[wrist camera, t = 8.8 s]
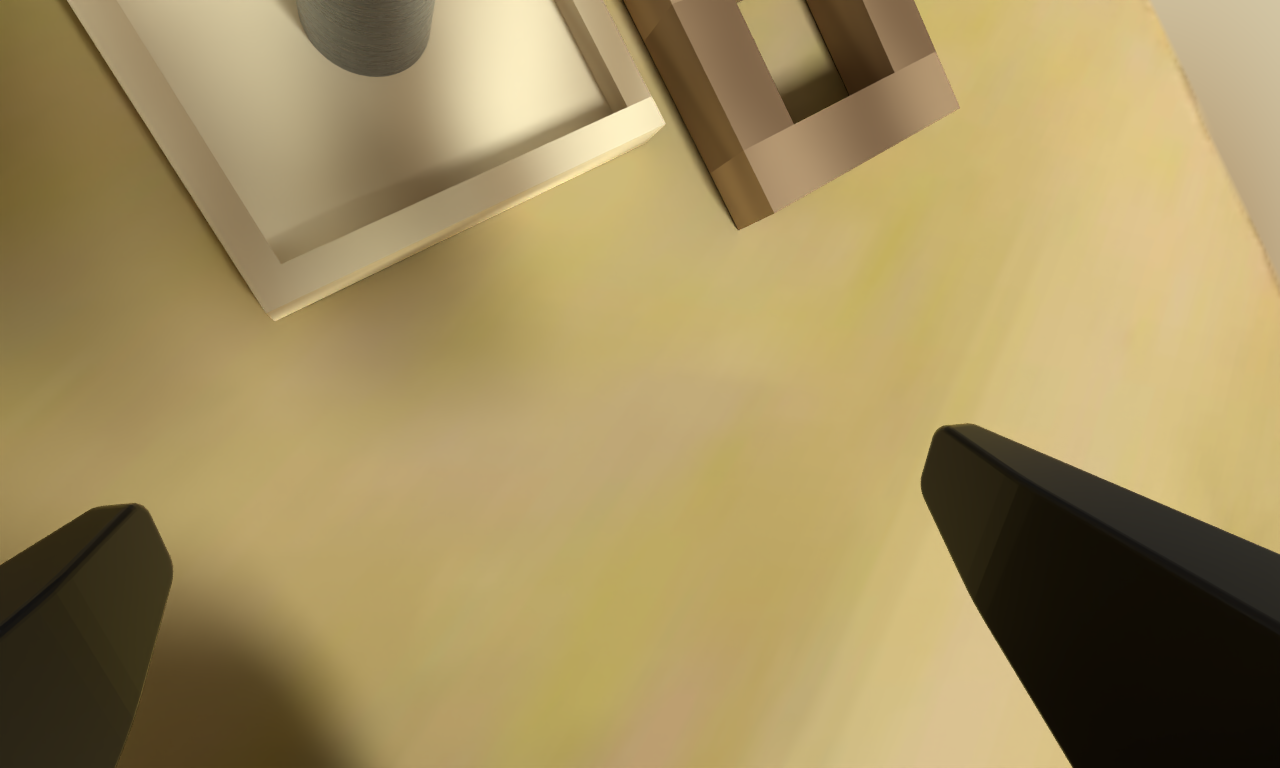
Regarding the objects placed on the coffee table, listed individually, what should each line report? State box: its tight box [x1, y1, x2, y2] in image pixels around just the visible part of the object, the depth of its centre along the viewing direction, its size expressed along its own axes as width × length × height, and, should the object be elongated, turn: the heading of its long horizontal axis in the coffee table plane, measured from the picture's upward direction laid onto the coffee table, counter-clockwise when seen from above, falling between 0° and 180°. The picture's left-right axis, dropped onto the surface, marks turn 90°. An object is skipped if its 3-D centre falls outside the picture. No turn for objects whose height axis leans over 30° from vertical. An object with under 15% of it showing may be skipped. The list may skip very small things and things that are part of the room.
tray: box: [67, 0, 666, 321], centre depth 17 cm, size 11×11×2 cm
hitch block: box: [623, 0, 960, 230], centre depth 21 cm, size 8×8×2 cm
